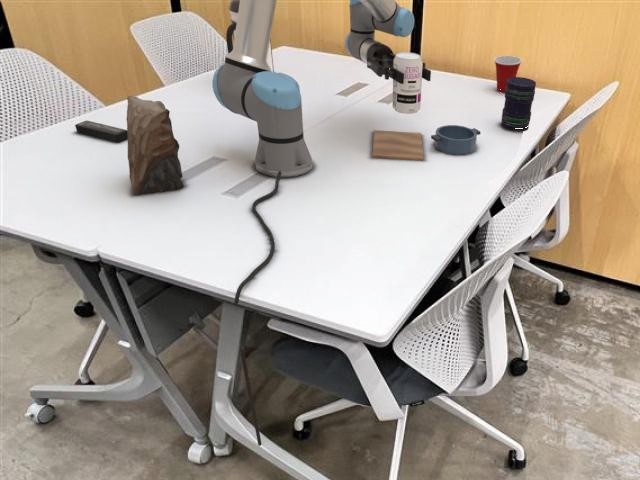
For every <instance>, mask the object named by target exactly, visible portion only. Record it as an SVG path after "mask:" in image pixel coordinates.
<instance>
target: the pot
mask: <svg viewBox="0 0 640 480" xmlns="http://www.w3.org/2000/svg"><path fill="white" fill-rule="evenodd" d="M481 134H482V133H481V131H480V130H479V129H477V128H475V127H474V128H471V127H467V126H464V125H458V124H447V125H441V126H439V127H437V128H436V130H435V134H432V135H431V134H430V135H431V136H430V139H431V140H433V141H434V146H435V149H437V150H439V151H440V152H441V153H442V152H443V153H445V154H449V155H455V156H459V155H461V156H463V155H464V156H465V155H469V154H471V153H473V152H475V150H476V145H477V139H478V138H477V137H478V136H480V135H481Z"/></svg>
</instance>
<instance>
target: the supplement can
mask: <svg viewBox="0 0 640 480" xmlns="http://www.w3.org/2000/svg"><path fill="white" fill-rule="evenodd" d="M395 55H396V56H395V58H394V60H393V68H395V69H397V70H398V71H400V72H402V73H404V84H400V83H398V82H397V81H395V80H393V79H392V109H394V111H395V112H397V113H399V114H405V115H412V114H417V113H418V112H419V111H420V110H421V105H422V84H423V83H422V82H423V78H422V66H423V63H424V61H423V60H422V56H421V55H420V54H418V53H416V52H410V51H409V52H408V51H403V52H396V53H395Z"/></svg>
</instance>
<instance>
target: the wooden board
mask: <svg viewBox="0 0 640 480" xmlns="http://www.w3.org/2000/svg"><path fill="white" fill-rule="evenodd" d="M372 141H373V143H372V155H371V157H372V159H373V158H374V159H388V160H390V159H391V160H407V161H408V160H410V161H424V150H423V140H422V132H411V131H410V132H409V131H396V130H393V131H392V130H377V129H376V130H373V140H372Z"/></svg>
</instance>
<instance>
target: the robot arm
mask: <svg viewBox="0 0 640 480" xmlns="http://www.w3.org/2000/svg"><path fill="white" fill-rule="evenodd" d="M277 1H278V0H240V4H239V11H238V18H237V25H236V32H235V38H234V39H233V50H232V52H230V53H229V54H228V53H227V54H226V55H225V57H224V63H223V64H221V65H220V66H219V67H218V68H217V69H216V70H215V71H214V74H213V76H212V90H213V94H214V96H215V98H216V100H217V102H219V104H220V105H221V106H222V107H224V108H225V109H227V110H229V112H231V113H233V114H236V115H239V116H242V117H244V118H247V119H249V120H252V121H254V122H256V126H257V132H258V143H257V146H256V147H257V148H256V152H255V157H254V163H255V169H256V170H257V171H258V172H259V173H260V174H263V175H266V176H269V177H273V178H276V179H275V186H274V189H273V190H272V191H271V192H269V193H267V194H265V195H263V196H261V197H258V198H257V199H255V200H254V201H253V203H252V205H251V210H252V212H253V214H254V215H255V216H256V218H257V219H258V221H259V222H260V224H261V225H262V227H263V228H264V229H265V231H266V232H267V234H268V237H269V240H270V251H269V254H268V255H267V257H266V258H265V259H264V261H262V262H261V263H260V264H259V265H258V266H256V267H255V268H254V269H253V270H252V271H251V273H250V274H249V275H248V276H247V277H246V278H245V279H244V280H243V281H242V282H241V283H240V284H239V285H238V287H237V289H236V292H235V296H234V302H233V303H234V305H238V304H239V302H240V297H241V293H242V290H243V288H244V287H245V286H246V285H247V284H248V283H249V282H250V281H251V280H252V279H253V278H254V276H256V274H257V273H259V271H260V270H261V269H263V268H264V267H265V266H266V265H267V264H268V263H269V262H270V261H271V259H272V258H273V256H274V254H275V248H276V243H275V238H274V235H273V233H272V231H271V229H270V228H269V226H268V225H267V223H265V221H264V219H263V217H262V216H261V214H260V213H259V212H258V211H257V209H256V206H257V204H259V203H260V202H262V201H264V200H266V199H268V198H270V197H272V196H273V195H275V194H276V193H277V192H278V190H279V185H280V180H281V178H294V177H299V176H303V175H305V174H307V173H308V172H311V170H312V169H313V158H312V155H311V153H310V150H309V147H308V145H307V143H306V140H305V137H304V136H305V135H304V122H303V120H304V119H303V104H302V94H301V89H300V84H299V82H298V81H297V80H296V79H295V78H294V77H292V76H290V75H288V74H287V73H283V72H277V71H275V70H274V71H271V69H270V67H269V65H268V64H267V55H268V49H269V43H270V38H271V36H272V31H273V26H274V18H275V12H276V8H277ZM348 6H349V24H350V25H349V26H350V28H349V29H350V30H349V33H347V35H346V38H345V41H344V46H345V49H346V51H347V52H348V54H349V55H351V56H352V57H353V58H354V59H356V60H358V61H361V62H362V63H364V64H365V65H366V68H368V69H369V70H371V71H372V72H373V73H374V74H375V75H376V76H377V77H379V78H382V77H383V76H384V80H387V81H388V80H390V79H392V81H393V80H395V81H397V82H398V83H400V84H404V73H402V72H400V71H398V70H397V69H395V68H393V60H394V58H395V56H396V53H395V54H394V52H393V50H392V48H391V47H390V46H388V45H386V44H384V43H382V42H381V41H380V40H377V39H376V38H375V36H376V35H375V33H376V31H379V32H382V33H385V34H388V35H391V36H394V37H399V38H407V37H409V36H410V35H411V34H412V32H413V29H414V28H415V16H414V13H413V12H412V11H411V10H410V9H408V8H406V7H405V6H404V7H402V6H400V4H398V3H397V1H396V0H349V4H348ZM431 78H432V70H431V69H429V68H427V67H426V62H423V66H422V80H423V79H424V80H425V81H427V82H431ZM240 357H241V363H242V364H241V365H242V368H243V374H244V381H245V384H246V391H247V395H248V401H249V406H250V410H251V415H252V419H253V425H254V430H255V435H256V440H257V445H258V446H259V447H260V446H262V445H263V444H262V439H261V433H260V427H259V422H258V418H257V412H256V408H255V407H256V406H255V402H254V401H255V400H254V397H253V392H252V387H251V381H250V376H249V370H248V365H247V364H248V363H247V358H246V351H245V349H243V348H242V349H240Z"/></svg>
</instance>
